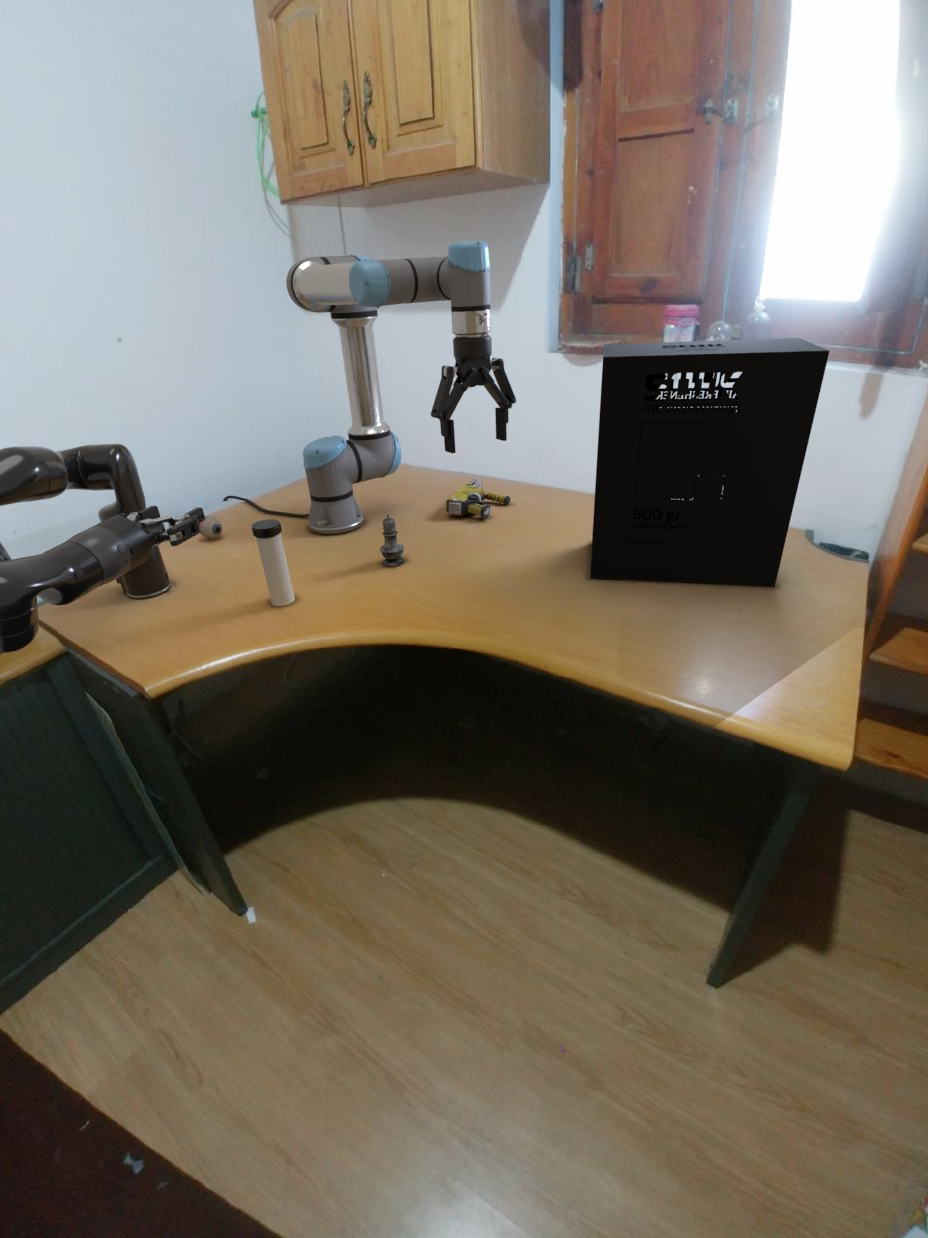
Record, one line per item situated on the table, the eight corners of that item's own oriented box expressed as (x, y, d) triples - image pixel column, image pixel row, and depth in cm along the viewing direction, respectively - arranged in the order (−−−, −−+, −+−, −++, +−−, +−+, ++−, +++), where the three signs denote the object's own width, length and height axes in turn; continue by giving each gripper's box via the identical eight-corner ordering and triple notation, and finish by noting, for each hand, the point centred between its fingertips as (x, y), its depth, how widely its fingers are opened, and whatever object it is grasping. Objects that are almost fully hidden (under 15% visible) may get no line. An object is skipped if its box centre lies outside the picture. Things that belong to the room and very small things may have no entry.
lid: (269, 539, 120) (267, 530, 119) (247, 536, 122) (245, 527, 121) (287, 529, 124) (285, 520, 123) (265, 526, 127) (263, 517, 126)
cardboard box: (755, 547, 142) (798, 337, 120) (774, 586, 125) (829, 350, 102) (592, 542, 150) (603, 344, 127) (589, 578, 133) (603, 356, 110)
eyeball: (211, 543, 162) (206, 522, 159) (197, 539, 165) (190, 519, 162) (230, 535, 166) (224, 515, 163) (215, 532, 169) (209, 511, 166)
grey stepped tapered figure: (401, 567, 143) (396, 519, 137) (378, 566, 144) (371, 518, 138) (408, 556, 148) (403, 510, 142) (385, 556, 149) (379, 509, 143)
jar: (285, 607, 128) (267, 531, 120) (266, 604, 130) (248, 529, 121) (299, 597, 132) (283, 523, 123) (281, 594, 134) (264, 520, 125)
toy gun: (518, 484, 183) (472, 477, 187) (496, 507, 163) (444, 499, 167) (517, 499, 185) (471, 492, 189) (494, 524, 165) (443, 515, 169)
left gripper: (74, 573, 88) (149, 531, 102) (156, 579, 85) (223, 535, 98) (54, 524, 84) (135, 488, 98) (139, 529, 81) (211, 490, 94)
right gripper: (429, 342, 108) (437, 460, 118) (533, 329, 120) (532, 437, 131) (407, 340, 113) (417, 454, 124) (508, 328, 125) (510, 432, 136)
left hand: (179, 512), depth 98 cm, fingers open, 8 cm apart
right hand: (476, 445), depth 127 cm, fingers open, 13 cm apart
